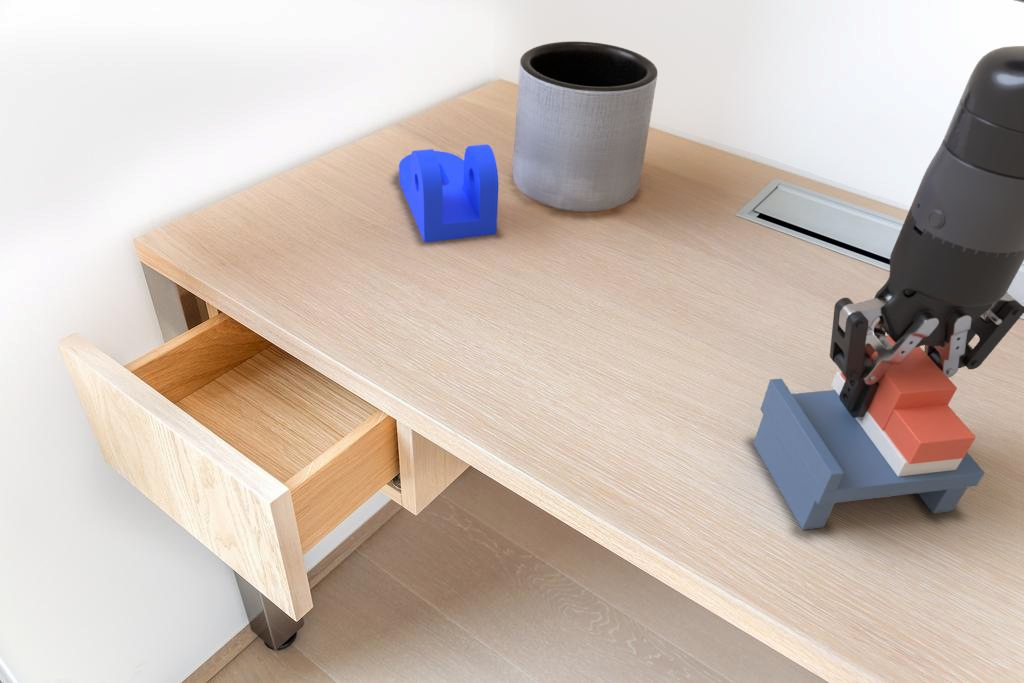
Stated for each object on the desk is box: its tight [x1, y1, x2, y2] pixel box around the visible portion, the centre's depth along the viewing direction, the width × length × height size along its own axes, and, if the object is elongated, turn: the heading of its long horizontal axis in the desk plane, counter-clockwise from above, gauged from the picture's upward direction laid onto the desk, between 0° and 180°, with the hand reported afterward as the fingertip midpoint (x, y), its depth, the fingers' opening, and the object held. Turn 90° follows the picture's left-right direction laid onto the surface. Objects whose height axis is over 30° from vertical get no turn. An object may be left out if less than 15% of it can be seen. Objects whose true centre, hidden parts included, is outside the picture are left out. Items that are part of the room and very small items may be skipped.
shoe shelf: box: [753, 378, 986, 531], centre depth 62 cm, size 13×10×7 cm
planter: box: [511, 40, 659, 214], centre depth 95 cm, size 16×16×16 cm
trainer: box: [830, 334, 977, 477], centre depth 60 cm, size 10×5×5 cm, turn 10°
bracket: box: [398, 144, 499, 243], centre depth 93 cm, size 18×8×9 cm, turn 17°
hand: (883, 406), depth 62 cm, fingers closed on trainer, 5 cm apart
